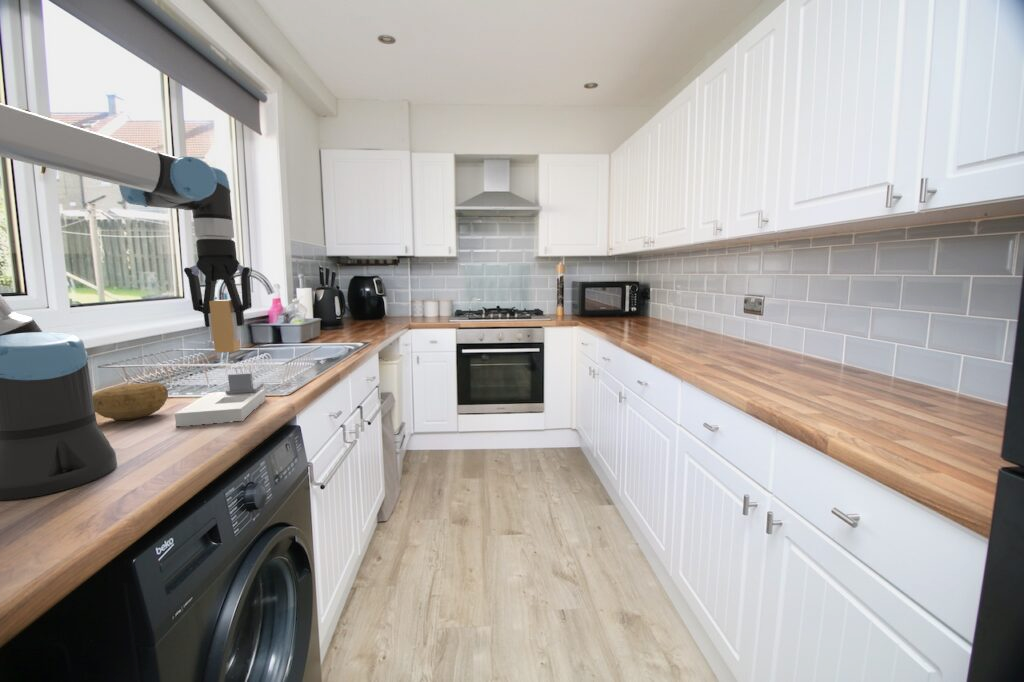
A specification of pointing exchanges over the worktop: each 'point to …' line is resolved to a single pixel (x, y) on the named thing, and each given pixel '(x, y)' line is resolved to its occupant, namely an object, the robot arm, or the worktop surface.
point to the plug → (223, 326)
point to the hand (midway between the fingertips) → (226, 339)
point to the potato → (130, 400)
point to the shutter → (242, 383)
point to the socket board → (219, 408)
